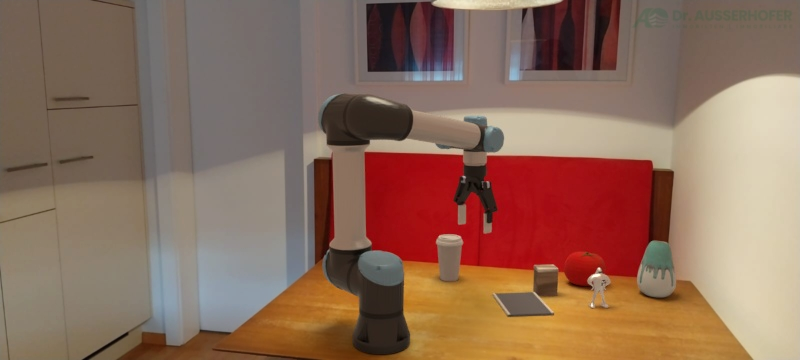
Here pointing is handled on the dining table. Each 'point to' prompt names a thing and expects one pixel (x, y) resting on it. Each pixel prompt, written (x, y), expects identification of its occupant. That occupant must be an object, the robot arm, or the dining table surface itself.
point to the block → (545, 280)
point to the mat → (522, 304)
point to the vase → (657, 270)
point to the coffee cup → (449, 256)
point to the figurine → (598, 286)
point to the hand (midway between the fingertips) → (474, 228)
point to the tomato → (582, 267)
